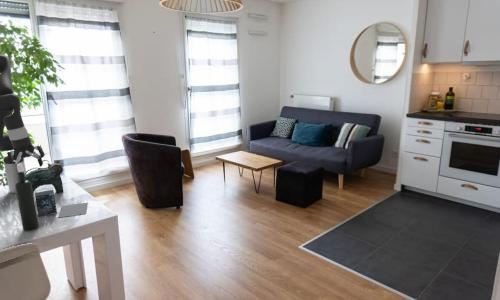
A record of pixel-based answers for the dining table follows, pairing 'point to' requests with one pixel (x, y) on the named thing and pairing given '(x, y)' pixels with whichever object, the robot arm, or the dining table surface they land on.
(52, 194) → the box
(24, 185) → the wine bottle
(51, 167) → the ceramic cat
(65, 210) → the mat
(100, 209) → the dining table surface
